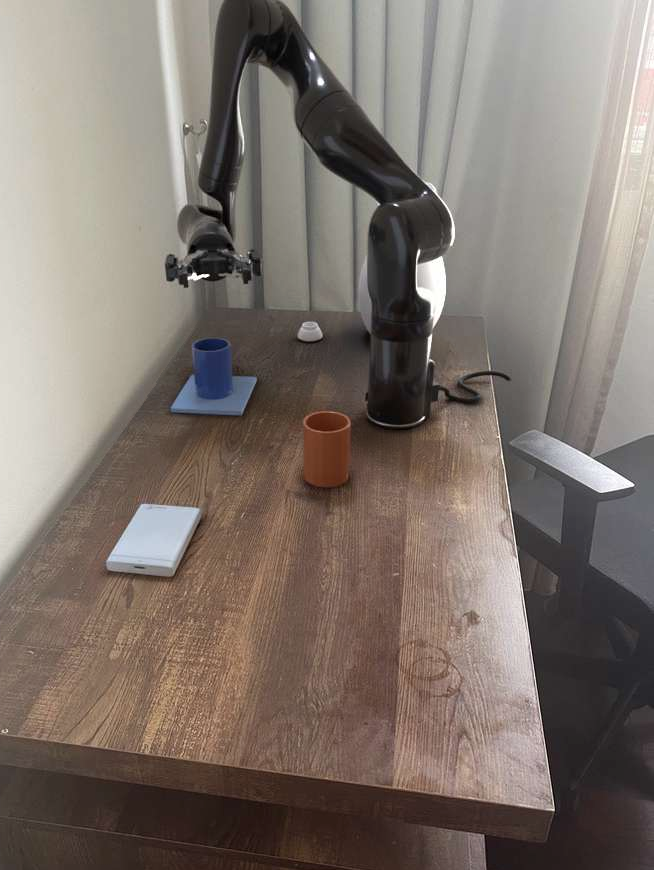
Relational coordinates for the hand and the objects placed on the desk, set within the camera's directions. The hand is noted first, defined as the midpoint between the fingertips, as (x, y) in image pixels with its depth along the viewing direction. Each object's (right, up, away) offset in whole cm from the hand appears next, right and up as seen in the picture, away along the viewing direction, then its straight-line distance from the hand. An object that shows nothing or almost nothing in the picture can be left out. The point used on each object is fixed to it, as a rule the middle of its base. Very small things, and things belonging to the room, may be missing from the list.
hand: (215, 279), depth 105 cm
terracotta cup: (+16, -28, 0) cm, 32 cm away
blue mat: (-2, -13, +23) cm, 27 cm away
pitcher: (+33, 0, +42) cm, 53 cm away
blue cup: (-2, -13, +22) cm, 26 cm away
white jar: (+15, +1, +45) cm, 48 cm away
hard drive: (-6, -37, -13) cm, 39 cm away
